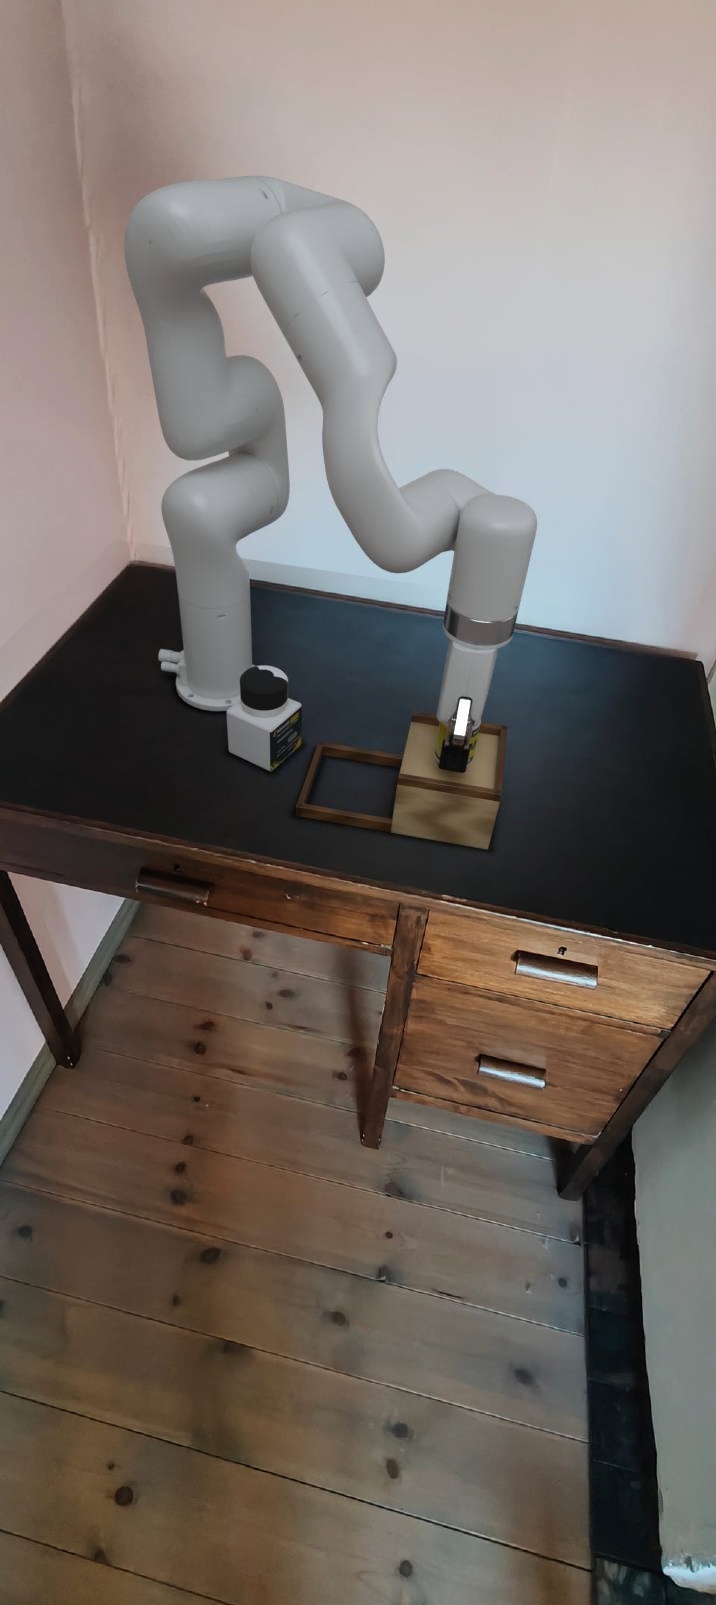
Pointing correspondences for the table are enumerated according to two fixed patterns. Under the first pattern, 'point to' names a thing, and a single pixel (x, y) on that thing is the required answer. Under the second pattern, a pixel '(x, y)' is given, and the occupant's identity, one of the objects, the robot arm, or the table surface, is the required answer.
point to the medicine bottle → (264, 718)
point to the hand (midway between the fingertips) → (455, 745)
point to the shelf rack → (427, 787)
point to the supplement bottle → (443, 731)
